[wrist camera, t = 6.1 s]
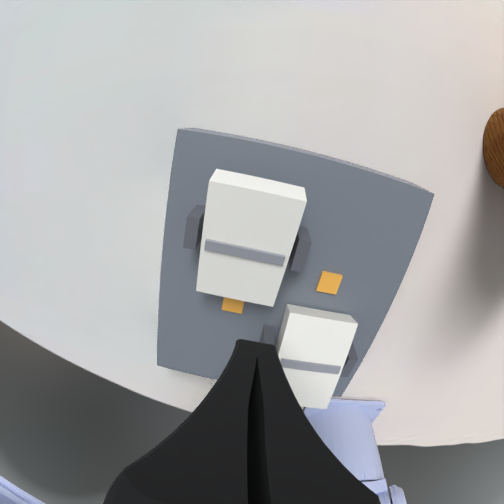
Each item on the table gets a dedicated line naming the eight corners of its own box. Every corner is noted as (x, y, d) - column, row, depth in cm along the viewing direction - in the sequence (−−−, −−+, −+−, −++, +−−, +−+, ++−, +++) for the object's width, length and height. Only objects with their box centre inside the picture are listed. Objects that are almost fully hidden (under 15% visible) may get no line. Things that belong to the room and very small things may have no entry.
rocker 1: (274, 287, 17) (272, 308, 15) (202, 272, 17) (195, 292, 15) (304, 187, 13) (306, 203, 12) (216, 168, 13) (208, 182, 12)
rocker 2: (322, 396, 18) (327, 410, 17) (263, 388, 18) (264, 403, 17) (350, 315, 17) (359, 324, 16) (286, 303, 17) (290, 313, 16)
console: (335, 370, 24) (344, 416, 19) (164, 339, 23) (145, 383, 19) (412, 182, 17) (452, 203, 13) (188, 127, 17) (159, 129, 12)
